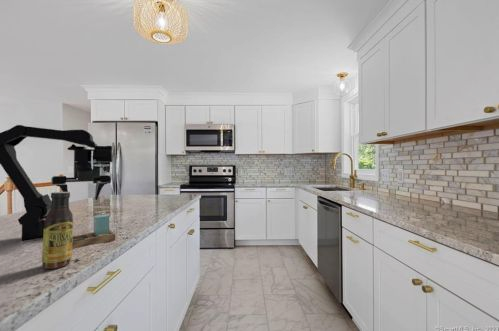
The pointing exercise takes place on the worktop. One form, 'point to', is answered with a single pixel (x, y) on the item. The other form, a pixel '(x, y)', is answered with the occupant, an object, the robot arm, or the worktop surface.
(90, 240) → the socket box
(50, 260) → the sauce bottle
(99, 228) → the plug
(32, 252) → the worktop surface
